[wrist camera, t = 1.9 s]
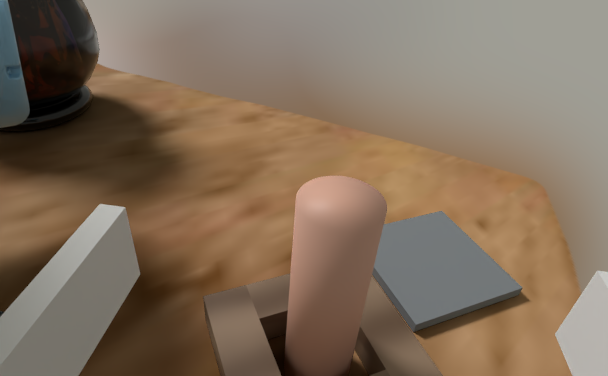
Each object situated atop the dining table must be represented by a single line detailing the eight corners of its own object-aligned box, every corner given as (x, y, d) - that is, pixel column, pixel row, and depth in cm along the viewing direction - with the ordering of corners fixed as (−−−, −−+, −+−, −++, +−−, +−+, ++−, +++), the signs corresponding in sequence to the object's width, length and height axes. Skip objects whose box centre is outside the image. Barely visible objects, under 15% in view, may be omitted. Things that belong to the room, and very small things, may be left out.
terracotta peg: (274, 349, 33) (283, 183, 24) (331, 330, 35) (359, 170, 26) (298, 408, 30) (318, 240, 20) (360, 384, 31) (405, 220, 22)
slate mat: (347, 240, 44) (348, 232, 44) (439, 217, 49) (441, 210, 48) (413, 332, 35) (415, 324, 35) (518, 294, 40) (522, 287, 39)
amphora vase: (126, 84, 73) (90, -113, 57) (85, 146, 56) (16, -112, 40) (-7, 80, 71) (-84, -128, 55) (-93, 143, 53) (-244, -133, 37)
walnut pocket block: (205, 320, 35) (203, 296, 33) (353, 278, 40) (357, 255, 38) (256, 507, 25) (256, 487, 23) (447, 420, 30) (459, 398, 28)
